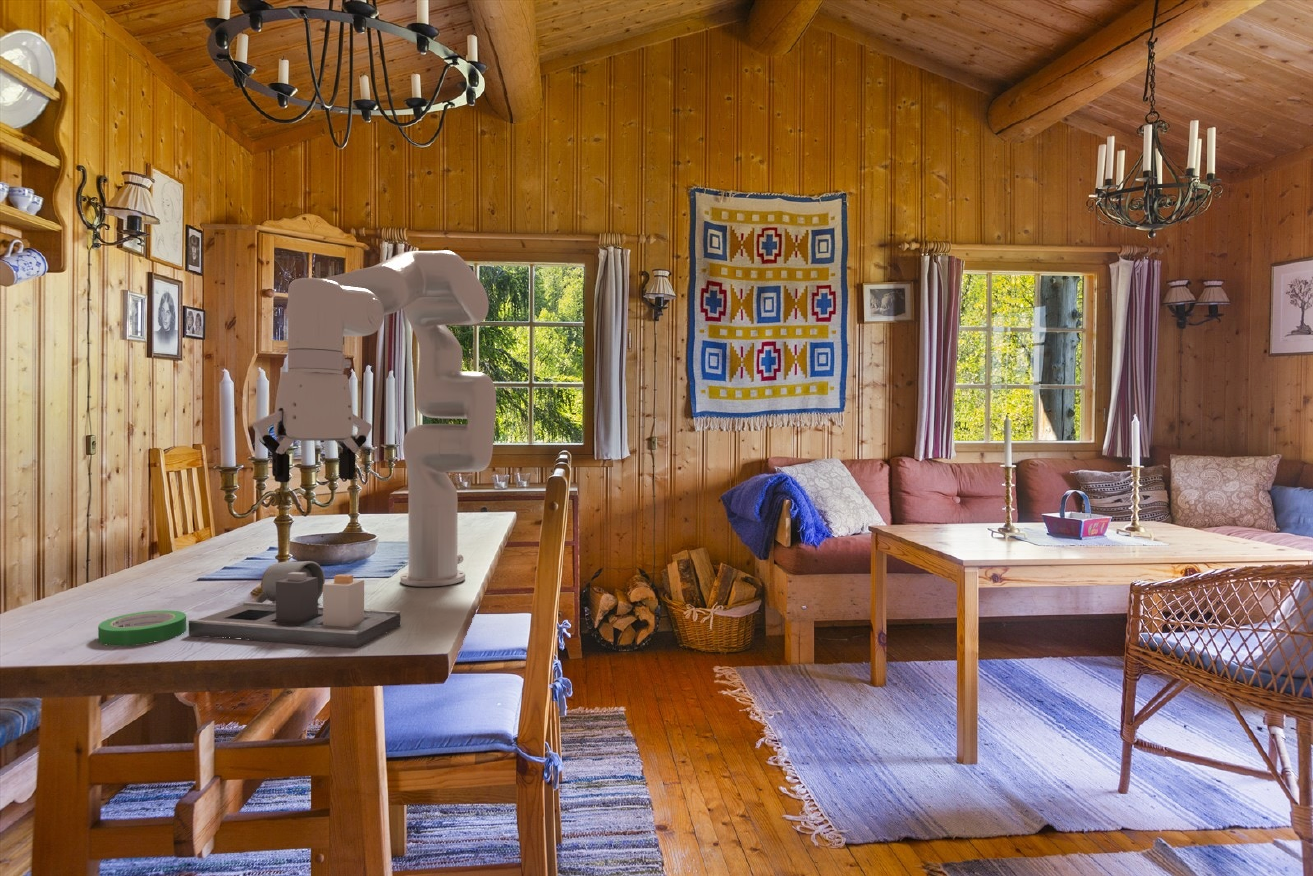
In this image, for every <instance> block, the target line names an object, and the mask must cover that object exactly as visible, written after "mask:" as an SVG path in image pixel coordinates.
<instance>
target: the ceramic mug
mask: <svg viewBox="0 0 1313 876" xmlns="http://www.w3.org/2000/svg"><path fill="white" fill-rule="evenodd" d="M291 572H302V573H306V577H318V600H319V599H320V598H321V597H322V596H323V584H325V578H326V577H325V572H324V570H323V568H322V566H321V565H320V564H319V563H318V562H315V561H312V560H307V561H306V560H305V561H282V562H277V563H274V564H272V565H270V566H269V567H267V569H266V570H265V572H264V573H263V575H262V578H261V582H260V588H261V593H259V595H257V597H256V598H255V600H254V602H255V603H265V601H266V600H267V601H270V603H271V604H276V582H277V581H280V580H283V579H286V578H288V573H291Z"/></svg>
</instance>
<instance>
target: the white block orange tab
mask: <svg viewBox="0 0 1313 876" xmlns="http://www.w3.org/2000/svg"><path fill="white" fill-rule="evenodd" d="M333 578H334V580H332V581H328V582H326V583H325V584H323V592H322V607H323V625H328V626H343V627H351V626H353V625H355V624H357V623H360V622H362V621H364V609H365V579H354V575H353V574H336V575H334V577H333Z"/></svg>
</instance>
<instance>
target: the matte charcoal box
mask: <svg viewBox="0 0 1313 876" xmlns="http://www.w3.org/2000/svg"><path fill="white" fill-rule="evenodd" d="M318 606H319V599H318V577H306V573H302V572H291V573H288V578H286V579H283V580H280V581H277V582H276V622H284V623H299V624H302V623H305V622H307V621H310V620H312V619H315V618H317V617H318Z"/></svg>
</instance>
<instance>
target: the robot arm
mask: <svg viewBox="0 0 1313 876" xmlns="http://www.w3.org/2000/svg"><path fill="white" fill-rule="evenodd" d="M287 289H288V290H287V304H286V313H285V315H286V318H287V371H281V373H280V377H279V380H278V385H277V389H276V390H277V392H276V396H275V405H274V406H275V407H274V412H273V413H270V414H269V415H267V416H264V417H263V418H260V419H259V420H257V421H254V422H253V423H252V428H253V430H254V432H255V433H256V436H257V437H258V439H259V442H260V443H261V444H262V445H263V446H264V447H265V448H266V449H267V450H268V452H269V453H270V454H272V455H271V458H272V459H271V460H272V461H271V465H272V466H271V474H272V476H273V477H274V481H275V483H276V482H278V483H288V482H290V455H289V453H287V451H288V449H289V448H290V447H291V446H292V445H293V444H294V442H295V441H300V442H301V441H302V442H303V441H309V442H310V441H312V442H313V441H314V442H315V441H318V442H320V441H323V442H324V441H325V442H326V441H328V442H329V441H331V442H332V441H333V442H334V441H335V443H336V444H337V445H338V446H339V448H340V449H341V450H342V452H339V454H338V478H339V479H341V480H353V479H354V478H355V477H354V474H355V473H356V454H357V453H358V452H359V451H360V448H361V447H362V446H363V445H364V444H365V443H366V441H367V437H368V436H369V434H370V432H371V430H372V424H371V423H369V422H368V421H366V420H364V419H362V418H360V416H357V415H356V414H354V413H353V403H352V395H351V387H350V383H349V379H348V378H349V377H348V375H347V374H344V372H345V369H346V368H347V369H350V368H351V367H352V360H351V359H349V358H345V353H344V338H345V337H366V336H371V335H373V334H375V333H376V332H377V331H379V330H380V329H381V327H382V325H383V322H384V319H385V316H386V315H391V314H394V313H396V312H399V311H401V310H403V312H404V314H405V317H406V319H407V320H408V322H409V325H410V326H411V328H412V331H413V332H414V335H415V338H416V341H417V343H418V347H419V359H418V360H419V361H418V369H417V370H418V372H417V379H416V380H417V381H416V394H415V396H416V397H415V404H416V409H417V411H418V412H419V414H420V415H422V416H424V417H427V418H432V419H458V420H459V419H465V420H467V424H453V423H452V424H451V423H425V424H424V423H423V424H420V425H419V424H418V425H415V426H413V427H412V428H410V429H409V430H408V431H407V432H406V433H405V435H404V437H403V443H402V451H403V456H404V461H405V468H406V474H407V487H408V489H407V490H408V492H407V493H408V498H407V499H408V504H407V505H408V507H407V508H408V514H407V515H408V519H407V520H408V521H407V522H408V524H407V525H408V534H407V535H408V538H407V539H408V548H407V549H408V551H407V552H408V571H407V572H405V573H403V574H401V575H400V579H399V580H400V581H399V582H400V583H401V584H403V585H405V586H410V587H421V588H422V587H423V588H424V587H425V588H427V587H432V588H433V587H443V586H450V585H451V586H452V585H456V584H458V583H462V582H463V581H465V579H466V573H465V572H464V571H462V570H460V569H459V570H458V565H459V564H462V563H463V561H464V556H463V555H462V554H459V553H458V534H459V533H458V531H459V530H458V529H459V528H458V520H459V519H458V504H459V503H458V492H457V488H456V486H455V485H454V483H453V481H452V479H451V478H450V477H449V475H448V474H447V473H478V472H482V471H485V470H486V469H487V468H488V467H489V466H490V464H491V461H492V458H493V453H494V452H493V451H494V450H493V449H494V439H495V438H494V437H495V426H496V425H495V423H496V412H497V411H496V409H497V392H496V391H497V390H496V386H495V384H494V381H493V379H492V378H491V376H490V375H488V374H486V373H484V372H480V371H463V370H462V368H463V355H464V353H463V347H462V346H461V344H460V342H459V341H458V339H457V337H456V336H455V335H454V334H453V333H452V331H451V330H450V328H448V326H458V325H459V326H465V325H466V326H467V325H468V326H469V325H470V326H471V325H472V326H473V325H478V324H480V323H482V322H483V321H484V320H485V319H486V317H487V315H488V312H489V309H490V308H489V307H490V305H489V298H488V294H487V291H486V289H485V287H484V285H483V284H482V283H481V281H480V280H479V278H478V277H477V276H476V274H475V273H474V271H473V270H472V268H471V267H470V266H469V265H468V263H467V262H466V261H465V260H464V259H463V258H462V257H461V256H460V255H459V254H457V253H456V252H453V251H451V250H418V251H417V250H416V251H412V250H411V251H404V252H401V253H398V254H396V255H394V256H392V257H390V258H388V259H385V260H384V261H382V262H380V263H377V264H375V265H373V266H369V267H365V268H360V269H356V270H352V271H349V272H345V273H341V274H337V275H332V276H327V277H324V278H323V277H322V278H318V277H317V278H316V277H301V278H296V279H293V280H292V281H291V282H290V283H289V286H288V288H287ZM271 426H273V432H274V436H275V437H276V438H274V436H273V435H271V434H270V431H269V428H270V427H271ZM353 427H355V428H357V432H356V435H354V437H353V438H352V436H353V429H354V428H353Z"/></svg>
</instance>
